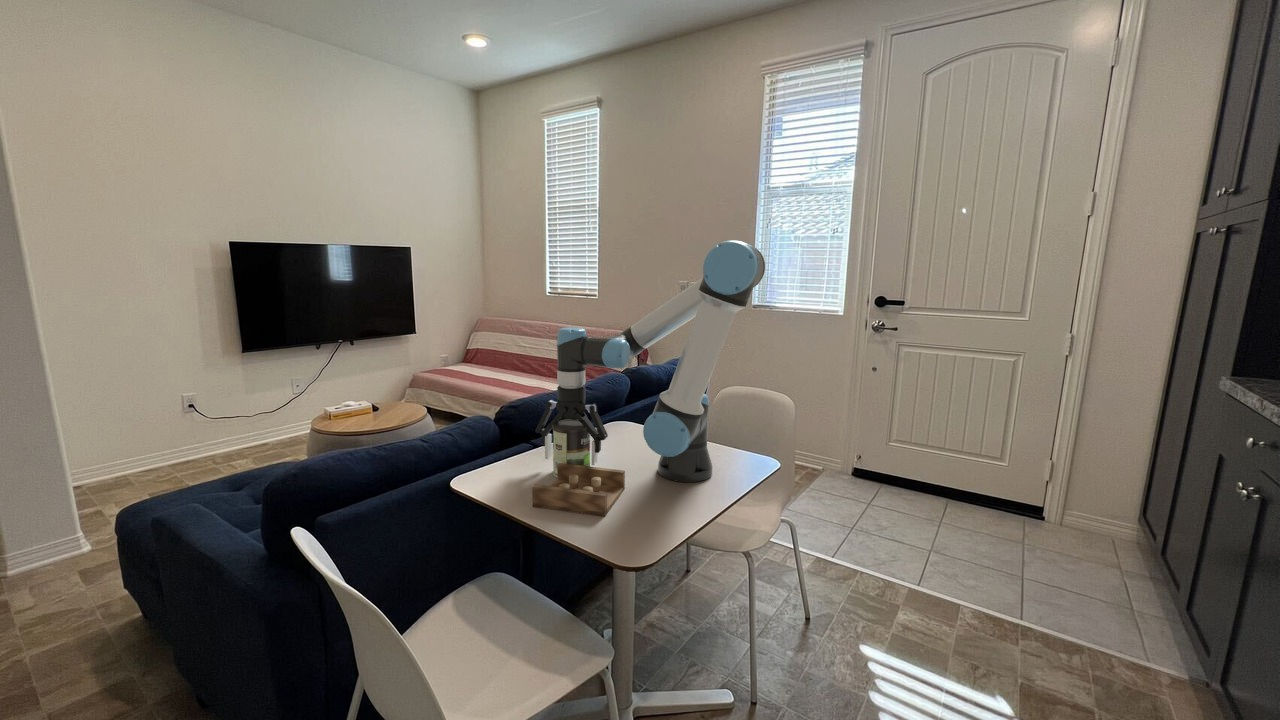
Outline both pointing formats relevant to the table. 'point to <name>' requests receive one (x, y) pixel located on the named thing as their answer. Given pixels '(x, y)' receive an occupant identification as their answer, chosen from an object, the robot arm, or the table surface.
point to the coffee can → (570, 444)
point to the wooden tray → (581, 490)
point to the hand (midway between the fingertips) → (571, 460)
